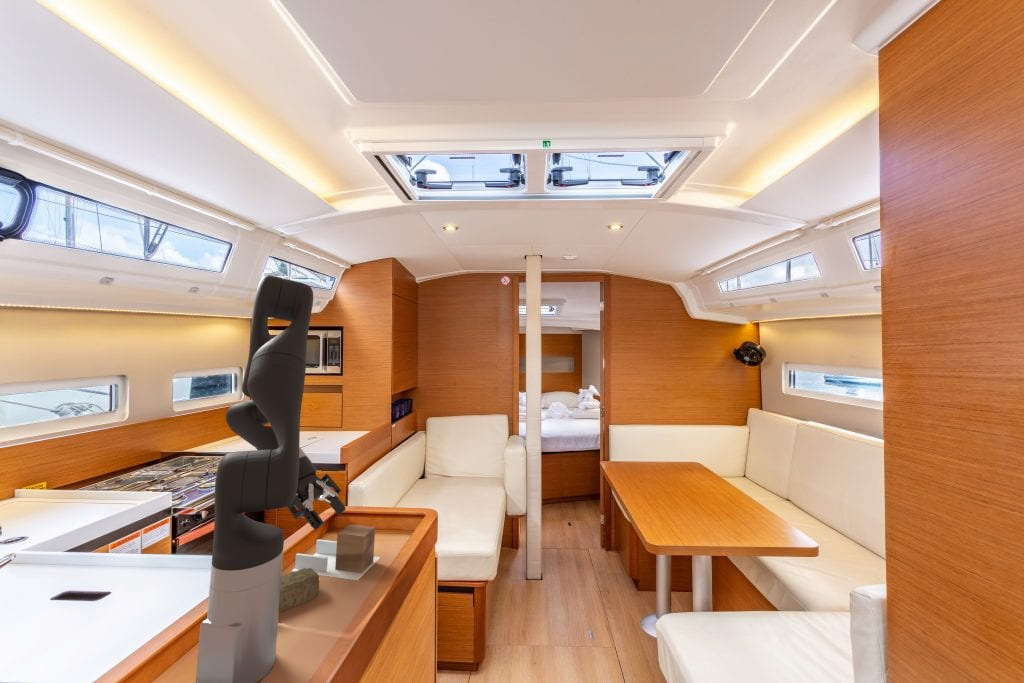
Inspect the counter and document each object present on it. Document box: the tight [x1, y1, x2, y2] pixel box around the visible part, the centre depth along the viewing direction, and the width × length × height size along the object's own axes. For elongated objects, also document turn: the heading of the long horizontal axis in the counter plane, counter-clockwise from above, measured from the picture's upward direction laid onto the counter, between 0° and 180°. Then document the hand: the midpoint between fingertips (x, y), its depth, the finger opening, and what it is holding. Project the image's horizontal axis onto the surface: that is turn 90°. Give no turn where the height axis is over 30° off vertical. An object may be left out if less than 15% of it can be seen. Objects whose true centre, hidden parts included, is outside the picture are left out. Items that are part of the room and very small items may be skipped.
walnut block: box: [335, 523, 376, 573], centre depth 89 cm, size 5×6×8 cm
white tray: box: [291, 539, 381, 581], centre depth 89 cm, size 10×20×4 cm, turn 81°
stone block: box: [279, 568, 320, 613], centre depth 75 cm, size 6×12×5 cm, turn 136°
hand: (331, 519), depth 90 cm, fingers open, 8 cm apart
